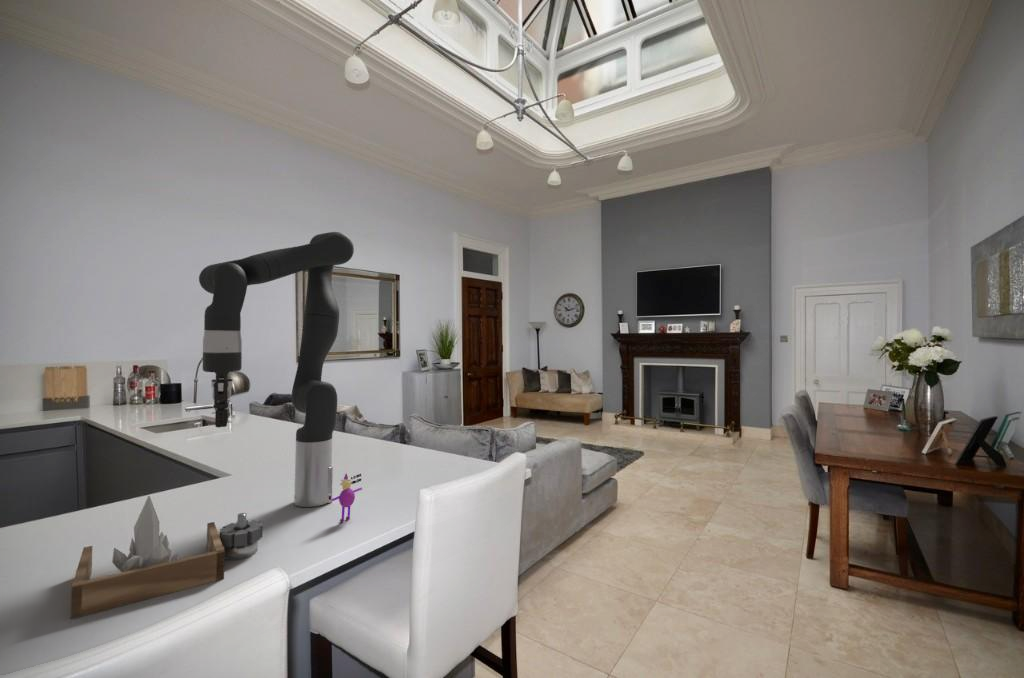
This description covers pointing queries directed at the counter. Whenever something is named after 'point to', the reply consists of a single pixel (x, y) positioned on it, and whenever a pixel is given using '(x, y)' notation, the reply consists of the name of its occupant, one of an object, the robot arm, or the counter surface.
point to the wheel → (241, 534)
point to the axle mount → (241, 551)
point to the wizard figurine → (346, 494)
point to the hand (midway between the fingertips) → (221, 424)
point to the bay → (144, 579)
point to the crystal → (145, 543)
